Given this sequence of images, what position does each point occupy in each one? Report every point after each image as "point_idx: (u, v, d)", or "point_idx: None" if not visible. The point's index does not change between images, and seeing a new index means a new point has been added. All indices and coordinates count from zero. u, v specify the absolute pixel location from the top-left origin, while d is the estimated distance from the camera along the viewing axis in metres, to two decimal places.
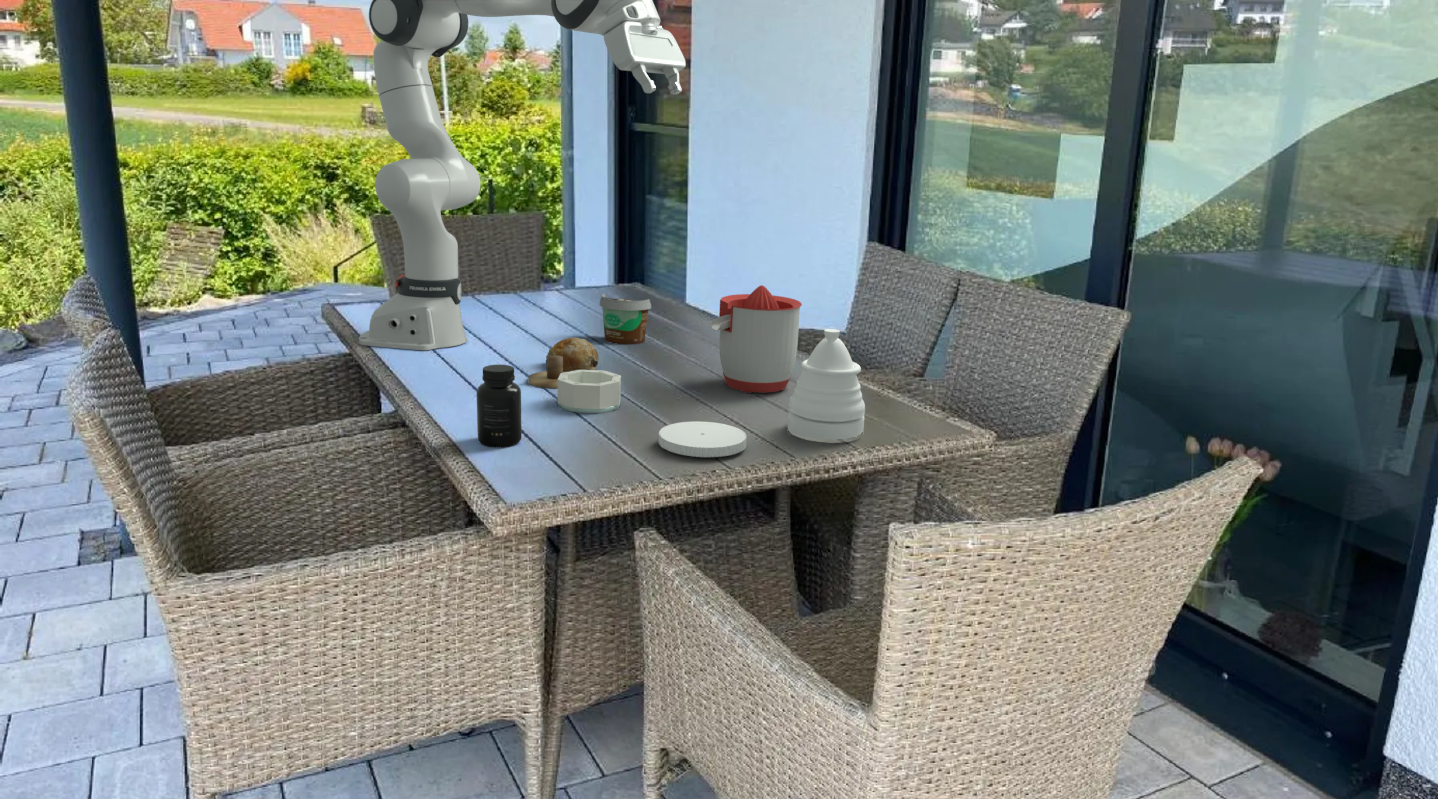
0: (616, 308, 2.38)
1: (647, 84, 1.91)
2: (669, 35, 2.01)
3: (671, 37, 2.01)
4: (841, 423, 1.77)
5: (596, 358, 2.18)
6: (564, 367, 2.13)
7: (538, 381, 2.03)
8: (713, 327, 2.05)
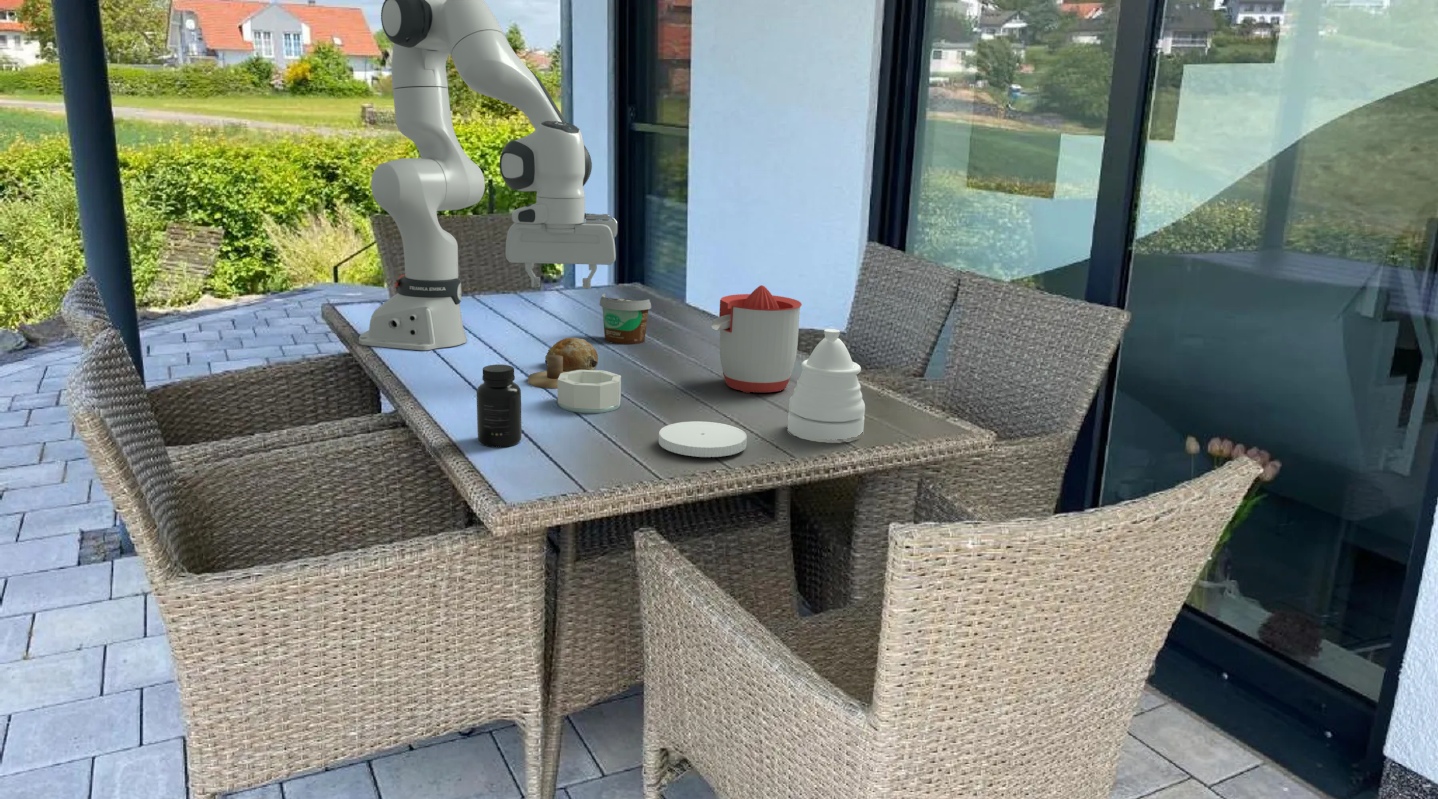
0: (616, 308, 2.38)
1: None
2: (599, 232, 1.98)
3: (602, 233, 1.98)
4: (841, 423, 1.77)
5: (595, 358, 2.18)
6: (563, 367, 2.13)
7: (538, 381, 2.03)
8: (713, 327, 2.05)
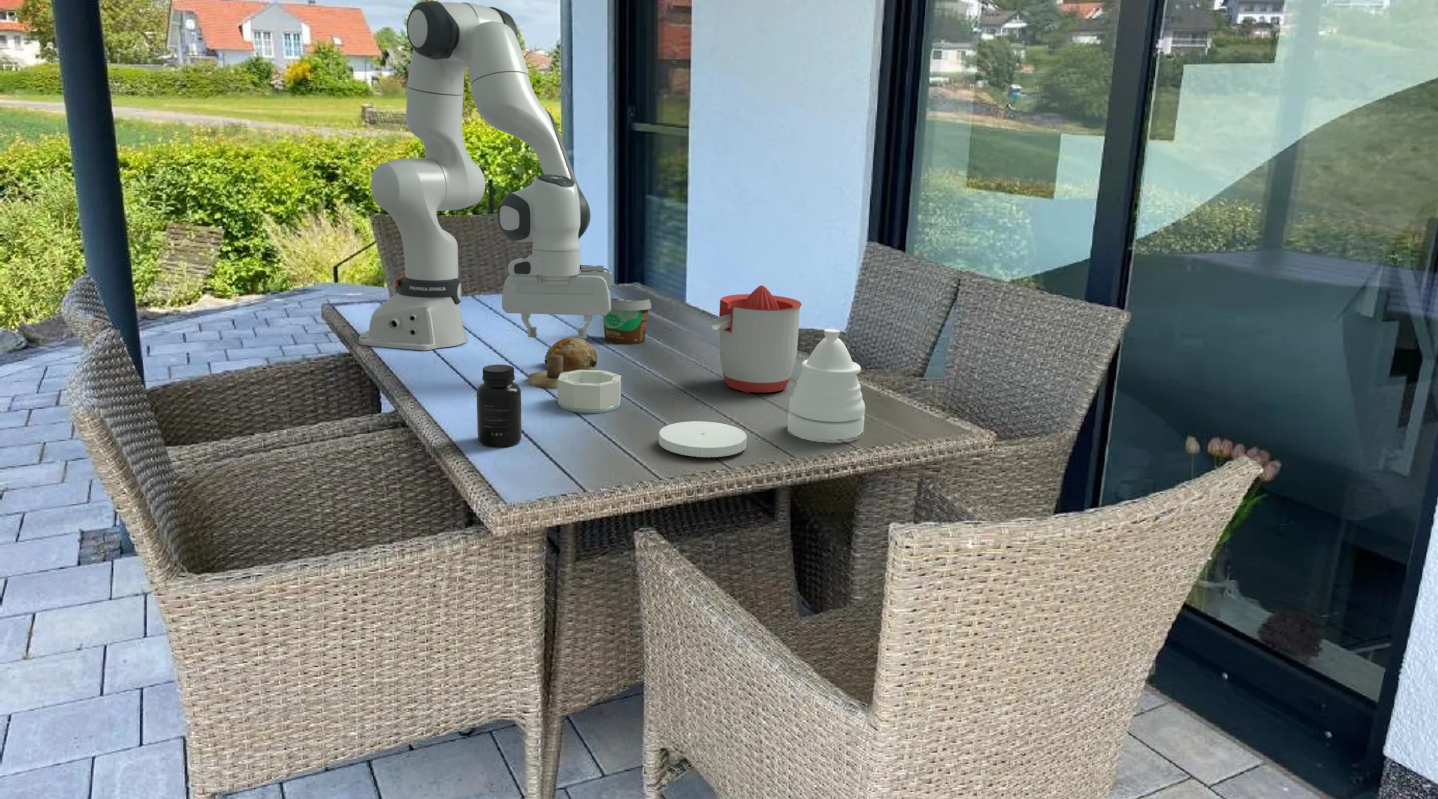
0: (616, 308, 2.38)
1: (528, 330, 2.03)
2: (594, 283, 2.00)
3: (597, 284, 2.00)
4: (841, 423, 1.77)
5: (595, 358, 2.18)
6: (563, 367, 2.13)
7: (539, 380, 2.03)
8: (713, 327, 2.05)
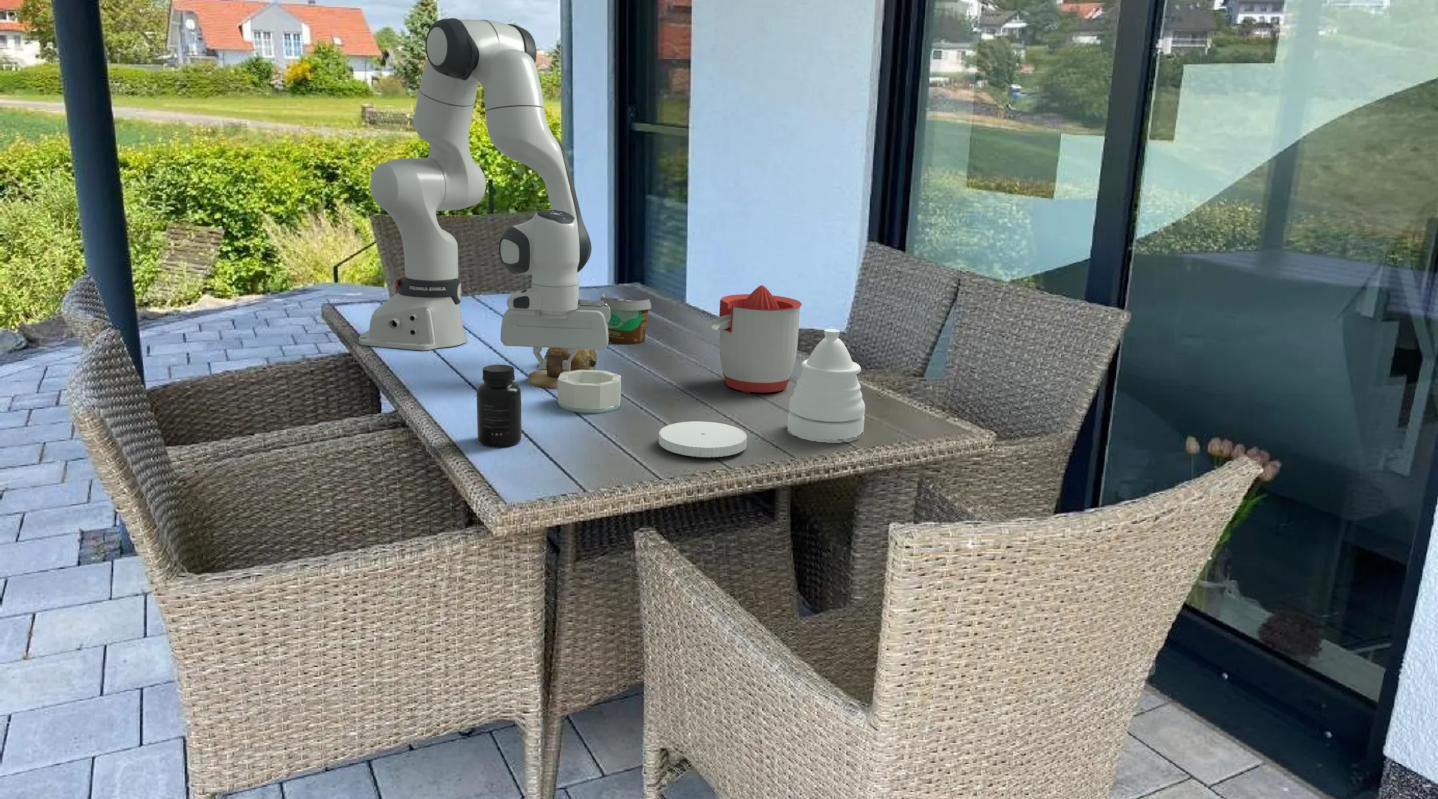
0: (616, 308, 2.38)
1: (539, 363, 2.05)
2: (592, 318, 2.02)
3: (595, 319, 2.02)
4: (841, 423, 1.77)
5: (594, 358, 2.18)
6: None
7: (539, 380, 2.03)
8: (713, 327, 2.05)
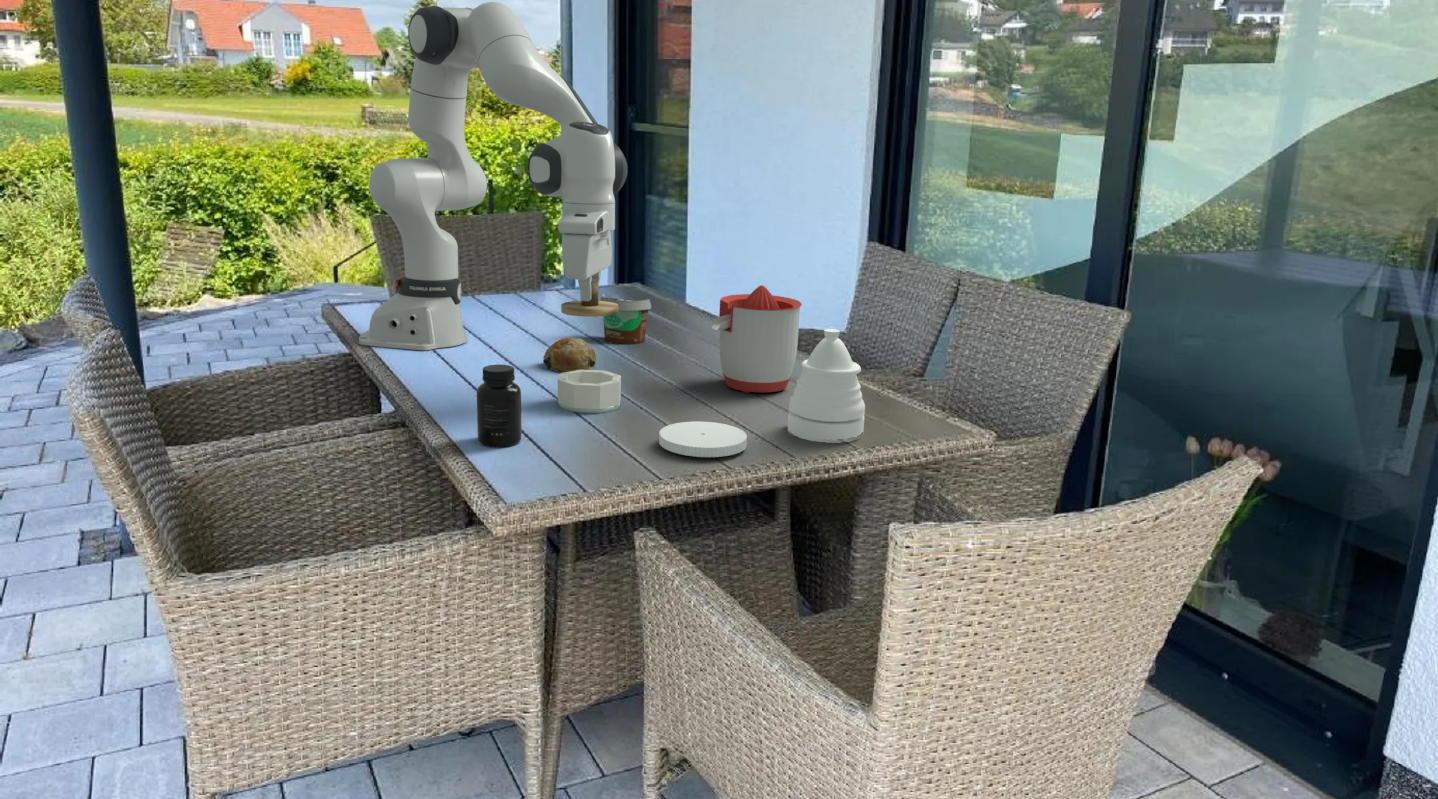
0: None
1: (587, 294, 1.87)
2: (609, 234, 1.94)
3: (609, 235, 1.95)
4: (841, 423, 1.77)
5: (593, 358, 2.18)
6: (561, 367, 2.13)
7: (607, 308, 1.88)
8: (713, 327, 2.05)
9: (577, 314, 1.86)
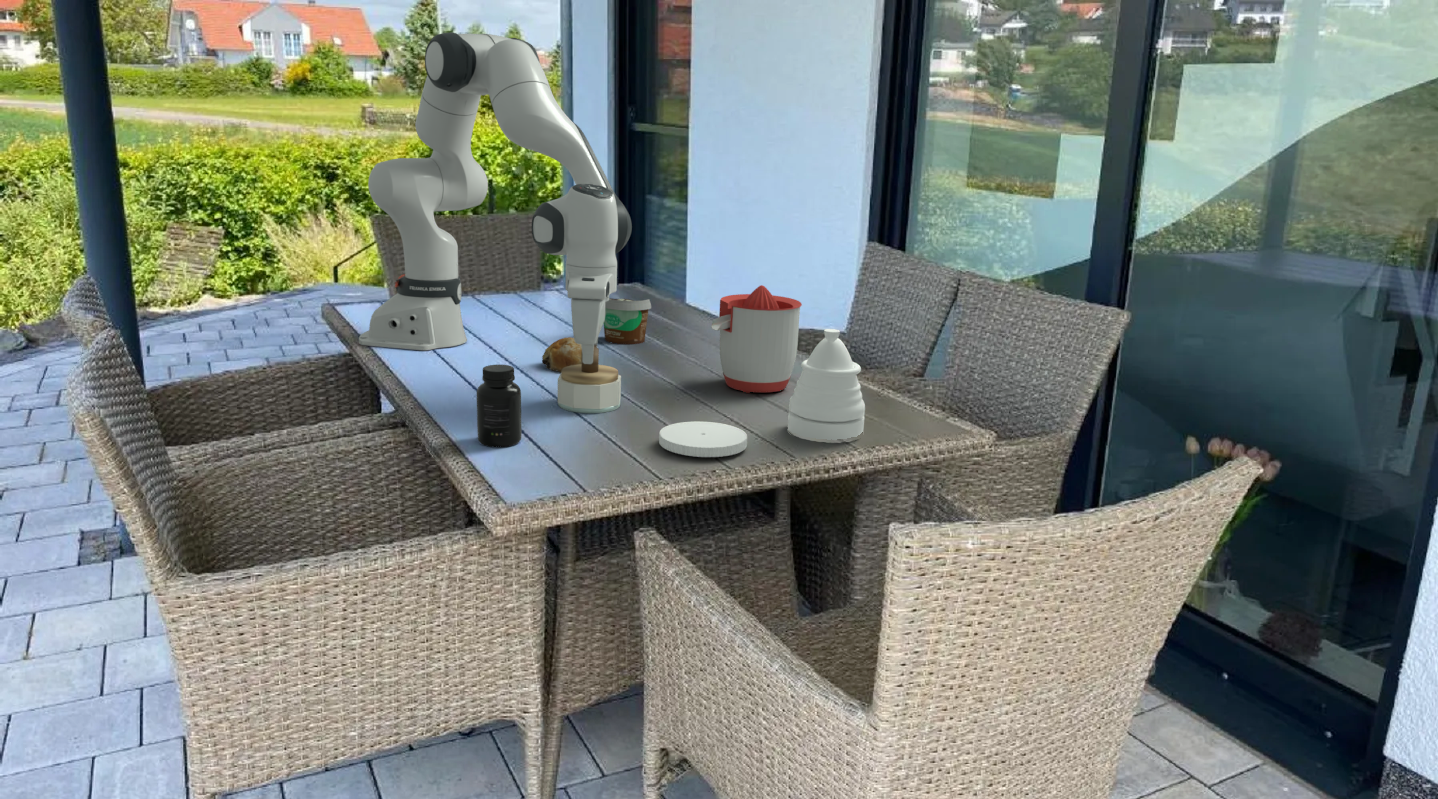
0: (616, 308, 2.38)
1: (589, 357, 1.86)
2: None
3: None
4: (841, 423, 1.77)
5: None
6: (560, 367, 2.13)
7: (609, 375, 1.89)
8: (713, 327, 2.05)
9: (582, 382, 1.86)
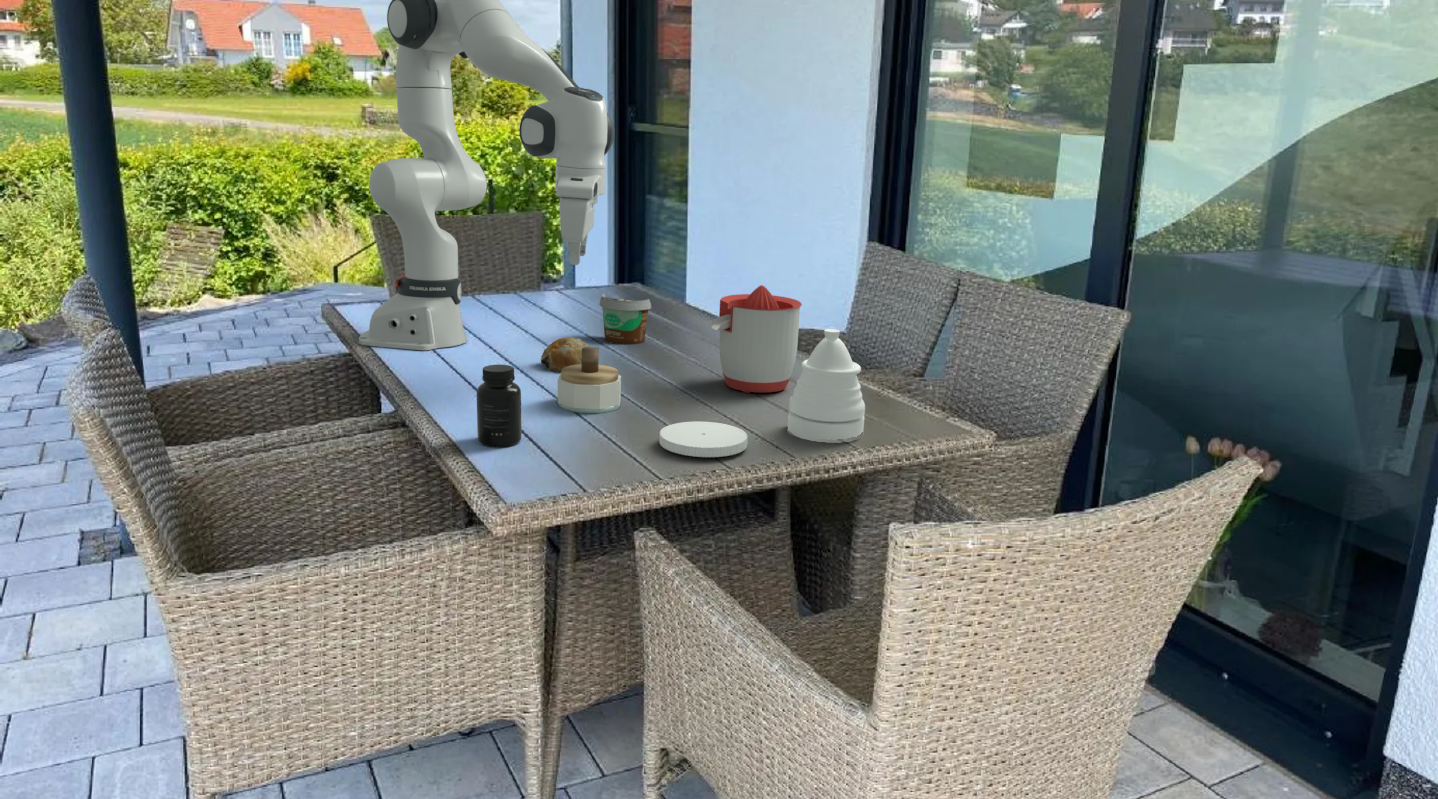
0: (616, 308, 2.38)
1: (575, 258, 1.91)
2: None
3: None
4: (841, 423, 1.77)
5: None
6: (559, 367, 2.13)
7: (609, 375, 1.89)
8: (713, 327, 2.05)
9: (582, 382, 1.86)
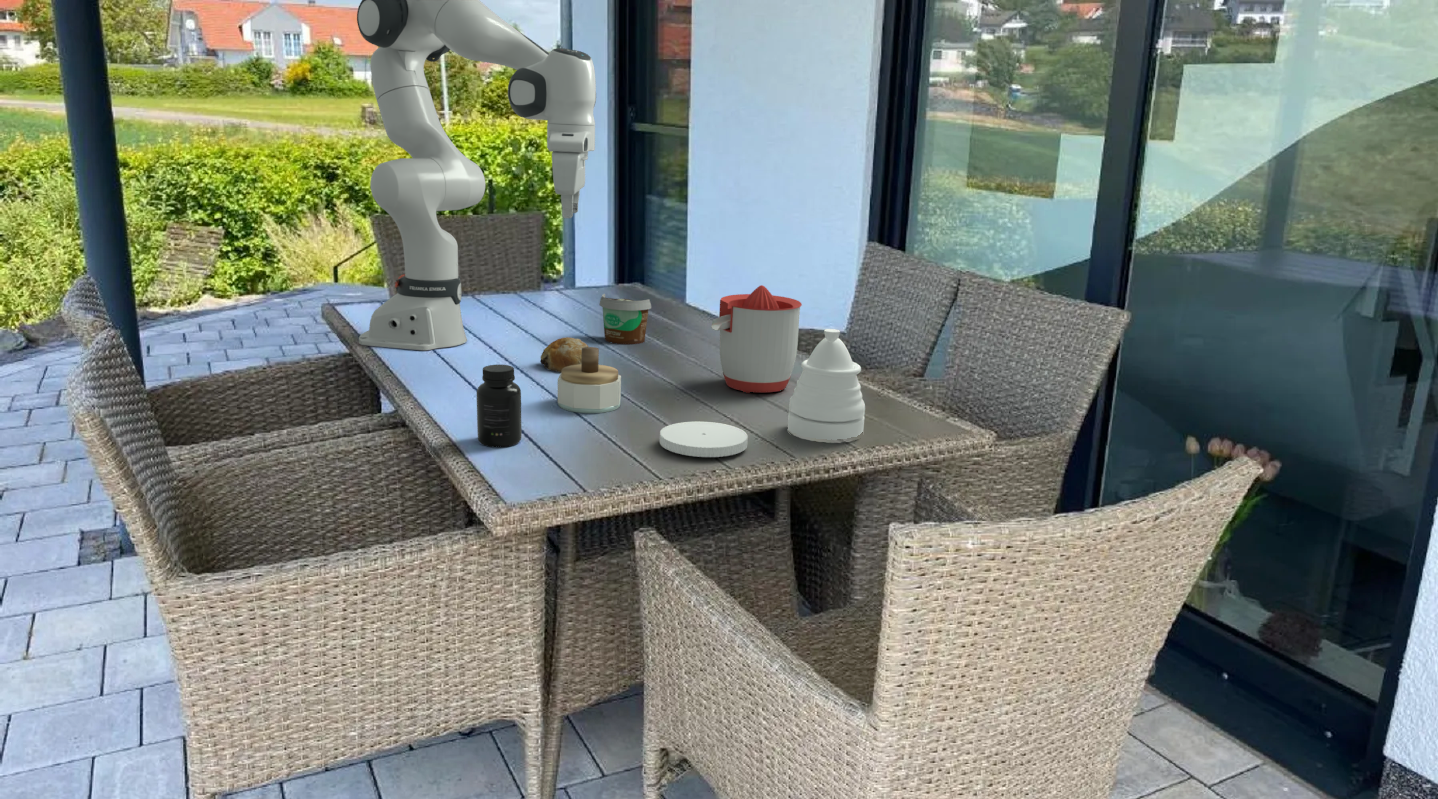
0: (616, 308, 2.38)
1: (568, 211, 1.99)
2: None
3: None
4: (841, 423, 1.77)
5: None
6: (558, 367, 2.13)
7: (609, 375, 1.89)
8: (713, 327, 2.05)
9: (582, 382, 1.86)
